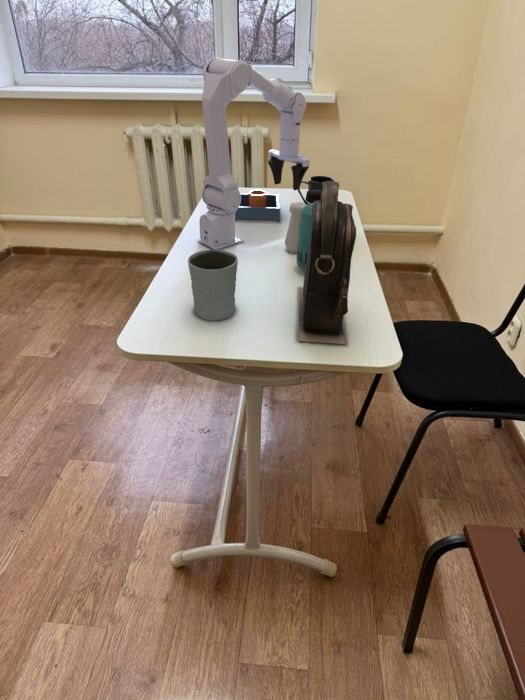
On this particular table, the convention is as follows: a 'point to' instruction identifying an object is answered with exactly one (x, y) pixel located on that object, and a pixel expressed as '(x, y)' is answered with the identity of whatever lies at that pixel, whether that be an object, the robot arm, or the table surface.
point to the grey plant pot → (213, 283)
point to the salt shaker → (293, 227)
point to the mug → (315, 184)
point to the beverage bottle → (306, 227)
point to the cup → (257, 198)
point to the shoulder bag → (327, 269)
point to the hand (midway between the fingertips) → (286, 186)
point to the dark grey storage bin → (259, 209)
